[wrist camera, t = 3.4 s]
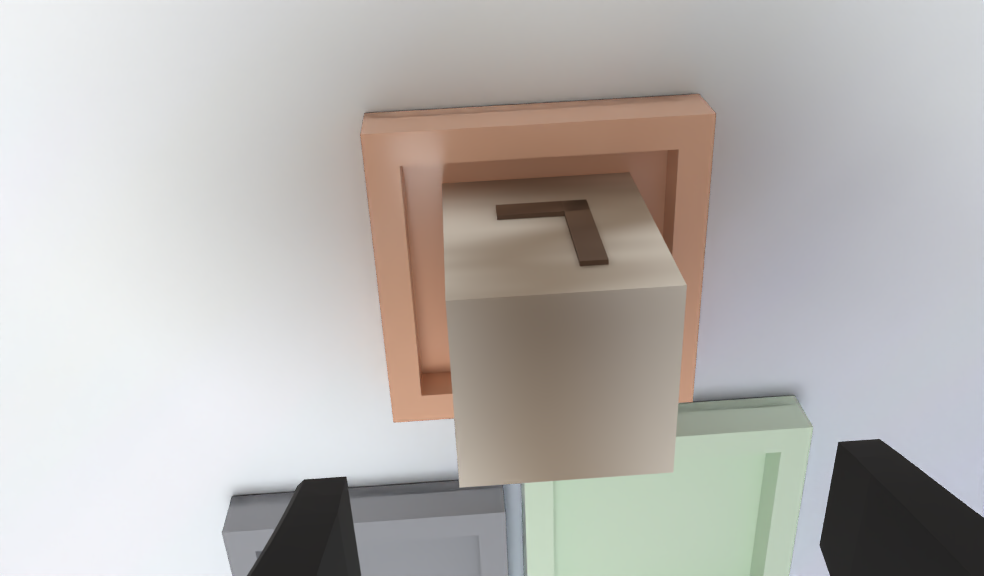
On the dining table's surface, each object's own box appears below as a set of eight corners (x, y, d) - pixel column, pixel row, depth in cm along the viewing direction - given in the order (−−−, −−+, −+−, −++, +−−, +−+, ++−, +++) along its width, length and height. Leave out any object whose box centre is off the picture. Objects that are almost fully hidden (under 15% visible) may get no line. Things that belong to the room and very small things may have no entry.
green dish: (794, 395, 23) (813, 427, 22) (765, 591, 27) (780, 628, 25) (518, 414, 23) (523, 447, 22) (525, 610, 26) (529, 647, 25)
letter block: (629, 167, 19) (687, 279, 15) (623, 331, 21) (672, 472, 17) (441, 179, 19) (444, 295, 15) (452, 342, 21) (459, 488, 17)
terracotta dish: (699, 93, 19) (716, 113, 18) (679, 370, 23) (692, 401, 21) (364, 113, 19) (360, 134, 18) (395, 389, 22) (393, 422, 21)
